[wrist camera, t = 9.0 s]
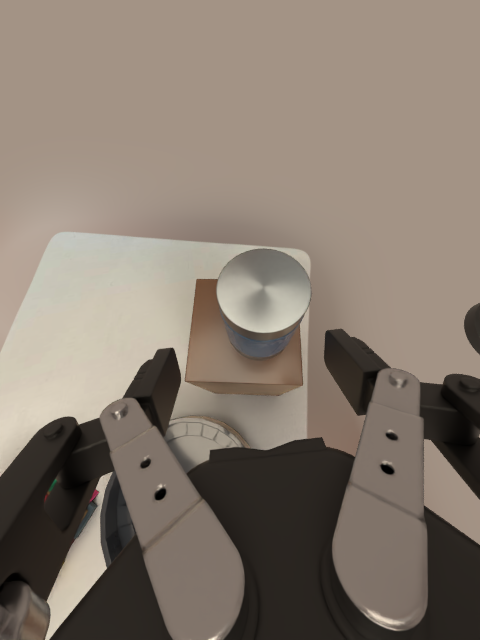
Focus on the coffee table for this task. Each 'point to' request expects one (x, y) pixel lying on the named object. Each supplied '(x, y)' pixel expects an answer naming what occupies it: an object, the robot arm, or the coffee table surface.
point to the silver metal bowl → (190, 450)
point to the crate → (234, 355)
